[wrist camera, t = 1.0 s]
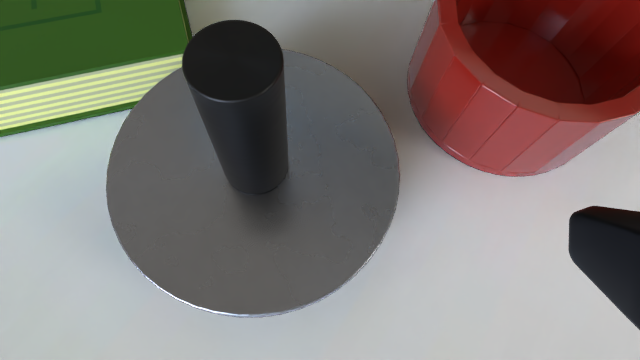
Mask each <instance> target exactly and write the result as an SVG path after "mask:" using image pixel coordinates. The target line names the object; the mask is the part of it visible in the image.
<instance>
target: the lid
mask: <svg viewBox="0 0 640 360" xmlns="http://www.w3.org/2000/svg"><path fill="white" fill-rule="evenodd" d="M399 183H400V171H399V159H398V154H397V150H396V145H395V141H394V139H393V136H392V133H391V131H390V128H389V126H388V124H387V122H386V120H385V118H384V116H383V115H382V113H381V111H380V110H379V108H378V107H377V105H376V104H375V103H374V101H373V100H372V99H371V97H370V96H369V95H368V94H367V93H366V92H365V91H364V90H363V89H362V88H361V87H360V86H359V85H358V84H357V83H356V82H354V81H353V80H352V79H351V78H350V77H348V76H347V75H346V74H344V73H342V72H341V71H339V70H338V69H336V68H335V67H333V66H331V65H329V64H327V63H325V62H323V61H321V60H319V59H316V58H313V57H311V56H308V55H305V54H302V53H298V52H294V51H290V50H284V49H281V47H280V45H279V43H278V41H277V40H276V39H275V37H274V36H273V35H272V34H271V33H270V32H269V31H267V30H266V29H264V28H263V27H261V26H259V25H257V24H254V23H252V22H248V21H242V20H226V21H221V22H217V23H214V24H211V25H209V26H207V27H205V28H203V29H202V30H200V31H199V32H198V33H197V34H195V35H194V36H193V37H192V39H191V40H190V41H189V43H188V44H187V46H186V48H185V50H184V53H183V57H182V67H180V68H179V69H177V70H175V71H173V72H172V73H170V74H169V75H168V76H166V77H165V78H163V79H162V80H160V81H159V82H158V83H157V84H156V85H155V86H153V87H152V88H151V89H150V90H149V91H148V92H147V93H146V94H145V95H144V96H143V97H142V98H141V99H140V101H139V102H138V103H137V104H136V105H135V106H134V108H133V109H132V111H131V112H130V114H129V115H128V116H127V118H126V119H125V121H124V123H123V125H122V127H121V129H120V131H119V133H118V135H117V137H116V140H115V142H114V145H113V148H112V151H111V154H110V159H109V164H108V169H107V184H106V193H107V203H108V210H109V214H110V218H111V222H112V226H113V228H114V231H115V233H116V235H117V238H118V240H119V242H120V244H121V246H122V247H123V249H124V251H125V252H126V254H127V256H128V257H129V259H130V260H131V261H132V263H133V264H134V265H135V266H136V267H137V268H138V270H139V271H140V272H141V273H142V274H143V275H144V276H145V277H146V278H147V279H148V280H150V281H151V282H152V283H153V284H154V285H155V286H157V287H158V288H159V289H161V290H162V291H164V292H165V293H167V294H169V295H170V296H172V297H173V298H175V299H177V300H179V301H181V302H184V303H186V304H188V305H190V306H193V307H195V308H197V309H200V310H204V311H208V312H211V313H215V314H218V315H225V316H232V317H267V316H274V315H281V314H285V313H288V312H292V311H296V310H299V309H302V308H304V307H307V306H309V305H311V304H314V303H316V302H318V301H321V300H322V299H324V298H326V297H327V296H329V295H331V294H332V293H334V292H336V291H337V290H339V289H340V288H341V287H342V286H344V285H345V284H346V283H347V282H349V281H350V280H351V279H352V278H354V276H355V275H356V274H357V273H358V272H359V271H360V270H361V269H362V268H363V267H364V266H365V265H366V264H367V263H368V261H369V260H370V259H371V257H372V256H373V254H374V253H375V252H376V250H377V249H378V247H379V246H380V245H381V243H382V241H383V239H384V237H385V235H386V233H387V231H388V229H389V227H390V224H391V221H392V219H393V216H394V213H395V210H396V205H397V200H398V195H399Z"/></svg>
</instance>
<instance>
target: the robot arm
mask: <svg viewBox="0 0 640 360" xmlns="http://www.w3.org/2000/svg"><path fill="white" fill-rule="evenodd" d="M569 254H570V256H571V259H572V260H573V262H574V263H575V264H576V265H577V266H578V267H579V268H580V269H581V270H582V271H583V272H584V274H585V275H586V276H587V277H588V278H589V279H590V280H591V281H592V282H593V283H594V284H595V285H596V286H597V287H598V288H599V289H600V290H601V291H602V292H603V293H604V294H605V295H606V296H607V297H608V298H609V299H610V300H611V301H612V302H613V303H614V304H615V306H616V307H617V308H618V309H619V310H620V311H621V312H622V313H623V314H624V315H625V316H626V317H627V318H628V319H629V320H630V321H631V322H632V323H633V324H634V325H635V326H636V327H637V328H638V329H639V330H640V212H637V211H630V210H622V209H615V208H607V207H600V206H591V207H587V208H585V209H582V210H579V211H577V212H574V213H573V214H572V215H571V217H570V220H569Z"/></svg>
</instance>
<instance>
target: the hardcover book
mask: <svg viewBox="0 0 640 360" xmlns="http://www.w3.org/2000/svg"><path fill="white" fill-rule="evenodd" d="M191 39H192V34H191V30H190V25H189V21H188V17H187V12H186V8H185V4H184V0H0V137H3V136H7V135H12V134H17V133H21V132H26V131H30V130H35V129H40V128H44V127H49V126H54V125H58V124H63V123H67V122H72V121H77V120H81V119H86V118H90V117H95V116H100V115H104V114H109V113H113V112H118V111H123V110H127V109H132V108H134V106H135V105H136V104H137V103H138V102H139V101H140V99H141V98H142V97H143V96H144V95H145V94H146V93H147V92H148V91H149V90H150V89H151V88H152V87H153V86H155V85H156V84H157V83H158V82H159V81H160V80H162V79H163V78H165V77H166V76H168V75H169V74H170V73H172V72H173V71H175V70H177V69H179V68H180V67H182V57H183V53H184V50H185V48H186V46H187V44H188V43H189V41H190V40H191Z"/></svg>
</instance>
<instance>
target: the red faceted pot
mask: <svg viewBox="0 0 640 360" xmlns="http://www.w3.org/2000/svg"><path fill="white" fill-rule="evenodd" d="M407 88H408V95H409V99H410V103H411V106H412V109H413V111H414V114H415V116H416V117H417V119H418V121H419V123H420V125H421V126H422V127H423V129H424V130H425V131H426V133H427V134H428V135H429V136H430V137H431V139H432V140H433V141H434V142H435V143H436V144H437V145H438V146H440V147H441V148H442V149H443V150H444V151H446V152H447V153H448V154H450V155H451V156H453V157H454V158H456V159H457V160H459V161H461V162H463V163H465V164H467V165H469V166H471V167H473V168H476V169H479V170H481V171H484V172H488V173H492V174H496V175H503V176H531V175H537V174H541V173H545V172H548V171H551V170H553V169H555V168H558V167H559V166H562V165H563V164H565V163H566V162H568V161H569V160H571V159H572V158H574V157H575V156H577V155H578V154H579V153H581V152H582V151H584V150H585V149H587V148H588V147H590V146H591V145H592V144H594V143H595V142H597V141H598V140H600V139H601V138H602V137H604V136H605V135H607V134H608V133H610V132H611V131H613V130H614V129H615V128H617V127H618V126H620V125H621V124H623V123H624V122H626V121H627V120H628V119H630V118H631V117H633V116H634V115H636V114H637V113H638V112H640V0H434V1H433V3H432V6H431V8H430V11H429V13H428V16H427V19H426V21H425V24H424V26H423V29H422V31H421V34H420V37H419V39H418V42H417V44H416V47H415V50H414V53H413V56H412V59H411V61H410V64H409V69H408V74H407Z"/></svg>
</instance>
